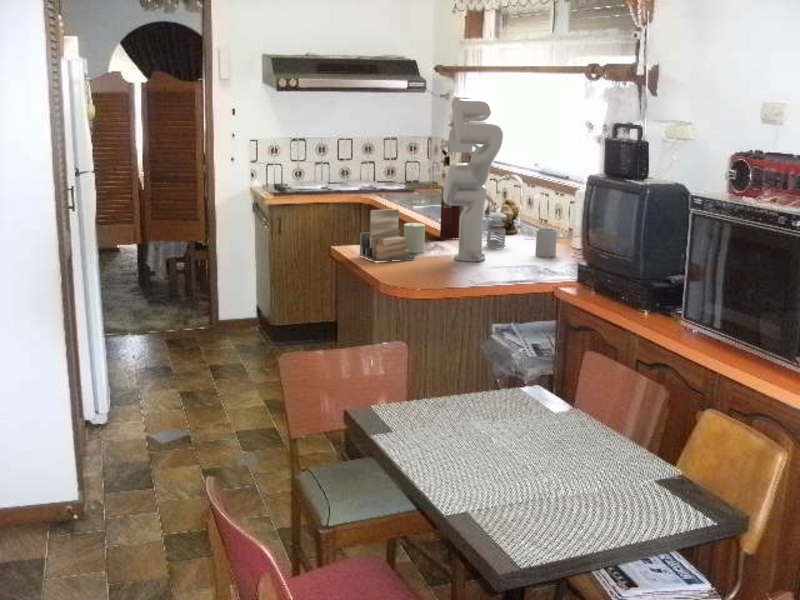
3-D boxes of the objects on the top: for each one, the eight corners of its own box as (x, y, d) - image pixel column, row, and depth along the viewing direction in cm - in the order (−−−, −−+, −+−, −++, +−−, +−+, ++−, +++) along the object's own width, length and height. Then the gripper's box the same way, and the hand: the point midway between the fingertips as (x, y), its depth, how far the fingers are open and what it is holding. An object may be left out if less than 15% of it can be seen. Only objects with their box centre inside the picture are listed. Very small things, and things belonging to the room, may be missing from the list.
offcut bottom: (409, 256, 363) (409, 250, 362) (378, 258, 357) (378, 252, 356) (402, 253, 368) (402, 247, 368) (372, 256, 362) (372, 250, 361)
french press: (507, 248, 393) (510, 192, 387) (481, 248, 393) (484, 191, 387) (505, 244, 402) (508, 189, 396) (480, 244, 403) (482, 188, 397)
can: (399, 251, 380) (399, 223, 378) (409, 248, 388) (409, 221, 386) (418, 254, 376) (419, 225, 373) (428, 250, 384) (429, 223, 381)
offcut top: (405, 244, 362) (405, 237, 362) (385, 246, 356) (385, 240, 356) (398, 242, 366) (398, 236, 365) (378, 244, 360) (378, 238, 360)
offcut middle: (405, 250, 362) (405, 244, 361) (378, 252, 356) (378, 246, 356) (398, 248, 367) (399, 242, 366) (372, 250, 361) (372, 243, 361)
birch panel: (397, 252, 370) (398, 209, 365) (371, 254, 364) (372, 211, 360) (395, 252, 371) (396, 209, 367) (369, 254, 366) (370, 210, 361)
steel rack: (414, 260, 364) (415, 235, 361) (375, 263, 355) (375, 238, 353) (398, 253, 376) (399, 230, 373) (359, 256, 367) (360, 232, 365)
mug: (553, 258, 374) (555, 232, 371) (533, 256, 377) (534, 230, 374) (558, 253, 385) (560, 228, 382) (539, 251, 388) (540, 226, 385)
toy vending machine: (439, 238, 413) (441, 178, 407) (443, 235, 424) (445, 175, 417) (458, 240, 411) (460, 179, 405) (461, 236, 422) (464, 176, 415)
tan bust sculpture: (492, 228, 446) (494, 194, 442) (516, 230, 445) (518, 195, 441) (493, 234, 428) (495, 199, 424) (518, 235, 428) (520, 200, 424)
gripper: (442, 125, 376) (440, 166, 380) (482, 126, 378) (480, 167, 382) (439, 124, 383) (437, 165, 387) (478, 125, 385) (477, 165, 389)
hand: (459, 166), depth 385 cm, fingers open, 9 cm apart
